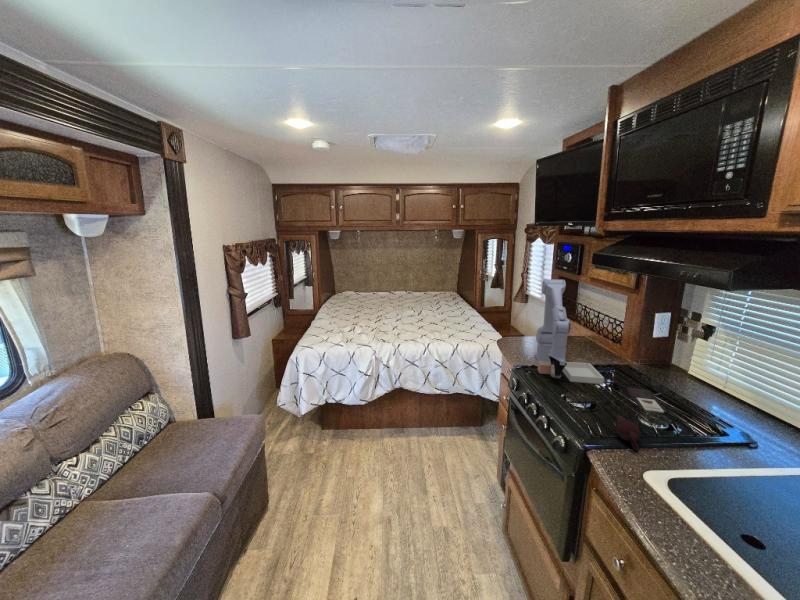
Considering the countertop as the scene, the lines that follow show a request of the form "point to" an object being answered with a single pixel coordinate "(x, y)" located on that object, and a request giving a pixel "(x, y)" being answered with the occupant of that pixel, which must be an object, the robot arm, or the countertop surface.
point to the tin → (553, 372)
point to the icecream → (627, 431)
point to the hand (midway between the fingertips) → (555, 373)
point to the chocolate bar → (646, 400)
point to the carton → (544, 367)
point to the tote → (582, 373)
